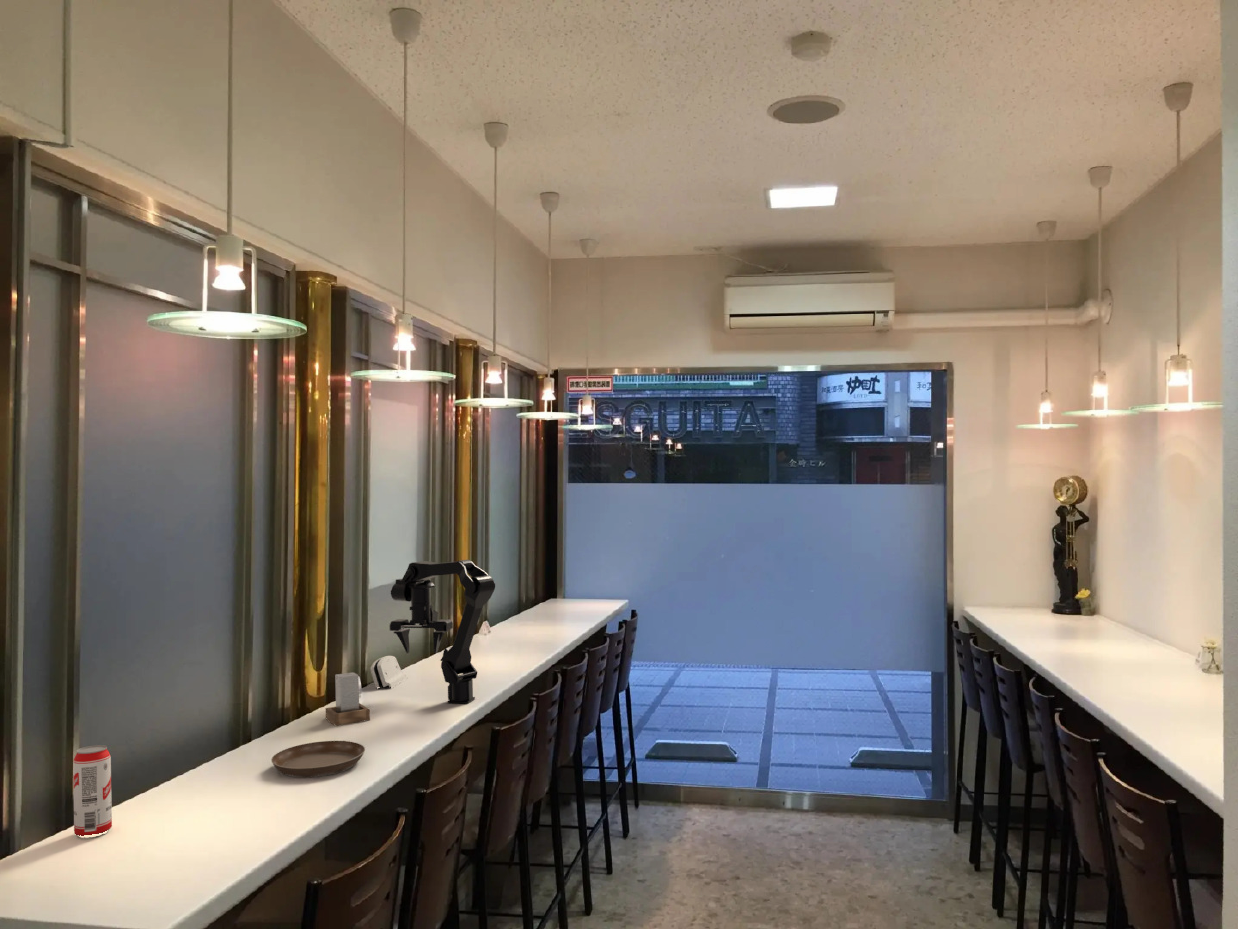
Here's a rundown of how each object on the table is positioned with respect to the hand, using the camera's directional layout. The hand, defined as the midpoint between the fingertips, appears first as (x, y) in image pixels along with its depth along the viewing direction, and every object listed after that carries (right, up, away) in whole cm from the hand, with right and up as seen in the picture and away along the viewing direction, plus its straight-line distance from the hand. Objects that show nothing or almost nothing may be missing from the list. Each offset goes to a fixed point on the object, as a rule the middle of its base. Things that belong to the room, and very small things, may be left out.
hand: (421, 653), depth 287 cm
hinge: (-15, -14, +19) cm, 28 cm away
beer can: (-39, -12, -110) cm, 118 cm away
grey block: (-15, -13, -28) cm, 34 cm away
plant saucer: (-9, -12, -71) cm, 73 cm away
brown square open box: (-15, -13, -28) cm, 34 cm away
